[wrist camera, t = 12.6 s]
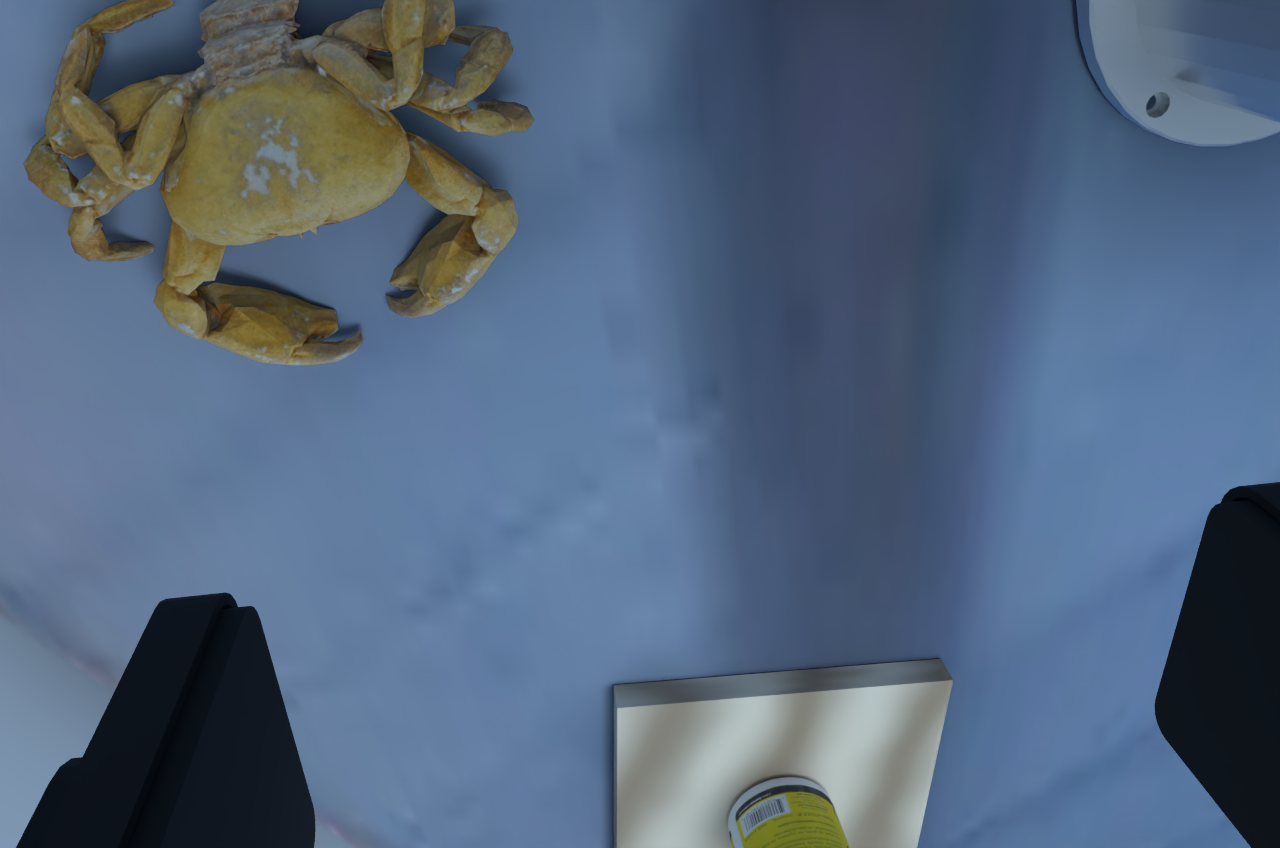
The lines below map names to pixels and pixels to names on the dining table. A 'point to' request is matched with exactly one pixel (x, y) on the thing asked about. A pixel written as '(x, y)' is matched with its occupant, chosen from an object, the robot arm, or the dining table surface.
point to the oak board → (778, 749)
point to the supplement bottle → (785, 817)
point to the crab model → (281, 158)
